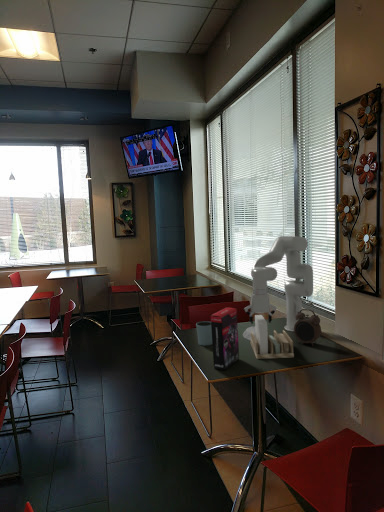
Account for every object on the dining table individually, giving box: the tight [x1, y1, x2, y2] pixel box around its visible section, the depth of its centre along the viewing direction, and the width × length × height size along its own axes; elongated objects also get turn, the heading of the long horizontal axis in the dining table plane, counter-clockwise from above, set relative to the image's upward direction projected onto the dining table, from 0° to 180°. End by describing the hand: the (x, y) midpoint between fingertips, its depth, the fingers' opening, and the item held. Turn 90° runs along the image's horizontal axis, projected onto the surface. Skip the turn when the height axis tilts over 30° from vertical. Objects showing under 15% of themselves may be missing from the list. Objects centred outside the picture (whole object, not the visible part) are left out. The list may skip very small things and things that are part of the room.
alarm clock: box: [294, 308, 322, 347], centre depth 208 cm, size 15×7×20 cm, turn 47°
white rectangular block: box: [254, 314, 269, 354], centre depth 200 cm, size 4×16×18 cm, turn 179°
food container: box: [242, 325, 270, 342], centre depth 225 cm, size 16×25×7 cm, turn 16°
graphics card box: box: [210, 307, 240, 371], centre depth 184 cm, size 17×7×27 cm, turn 148°
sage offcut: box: [269, 334, 280, 354], centre depth 201 cm, size 2×16×6 cm, turn 4°
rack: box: [250, 329, 295, 360], centre depth 201 cm, size 19×22×8 cm
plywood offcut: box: [277, 333, 289, 353], centre depth 201 cm, size 2×15×7 cm, turn 179°
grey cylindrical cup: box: [195, 320, 212, 346], centre depth 217 cm, size 10×10×12 cm
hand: (260, 322), depth 199 cm, fingers open, 9 cm apart
